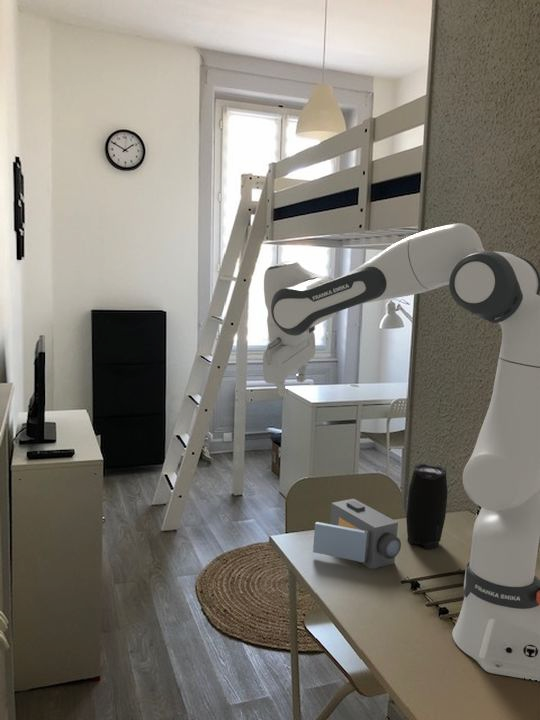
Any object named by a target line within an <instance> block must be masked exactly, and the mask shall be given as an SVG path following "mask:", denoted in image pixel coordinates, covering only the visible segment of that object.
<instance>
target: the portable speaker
mask: <svg viewBox="0 0 540 720" xmlns="http://www.w3.org/2000/svg"><path fill="white" fill-rule="evenodd" d="M448 492H449V491H448V480H447V469H446V467H443V466H440V465H437V466H436V465H431V464H430V465H429V464H425V463H417V464H415V465H414V470H413V471H412V476H411V479H410V483H409V486H408V494H407V495H408V496H407V506H406V516H405V518H406V532H407V533H406V534H407V542H408V543H409V544H410V545H415V544H417V545H420V546H423V547H424V548H425V549H427V550H432V549H437V548H438V547H439V544H440V542H441V539H442V533H443V529H444V525H445V520H446V512H447V505H448V504H447V502H448Z"/></svg>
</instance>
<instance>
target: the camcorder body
mask: <svg viewBox="0 0 540 720" xmlns="http://www.w3.org/2000/svg"><path fill="white" fill-rule="evenodd" d="M330 505H331V506H330V519H329V524H331V525H337V526H342V527H347V528H353V529H358V530H364V531H370V538H369V549H368V561H367V563H363V562H360V564H362V563H363V565H364V566H365V565H366V567H367V568H368V569H370V568H371V569H370V570H374V568H375V569H379V568H381V566H382V567H385V566H390V565H392V564H395V561H396V560H395V559H396V557H397V555H398V554H400V550H401V548H402V543H401V542H402V541H401V540H400V538H399V537H398V530H399V529H398V527H399V522H398V521H397V520H394V519H393V518H391V517H389V516H387V515H386V514H383V513H382V512H379V511H378V510H376V509H374V508H372V507H370V506H369V505H367V504H365V503H363V502H361V501H360V500H358V499H355V498H349V499H345V500H340V501H335V502H334V501H333V502H331V504H330ZM378 567H379V568H378Z"/></svg>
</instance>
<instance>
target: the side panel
mask: <svg viewBox="0 0 540 720" xmlns="http://www.w3.org/2000/svg"><path fill="white" fill-rule="evenodd" d="M313 534H314V536H313V548H312V553H315V554H319V555H325V556H328V557H329V556H330V557H336V558H340V559H346V560H350V561H353V562H354V561H355V562H359V563H361V562H363V563H367V561H368V549H369V538H370V531H364V530H358V529H353V528H347V527H342V526H337V525H331V524H330V523H325V522H319V521H316V522H315V523H314V533H313Z"/></svg>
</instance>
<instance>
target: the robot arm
mask: <svg viewBox="0 0 540 720" xmlns="http://www.w3.org/2000/svg"><path fill="white" fill-rule="evenodd" d="M445 286H449V291H450V294H451V297H452V299H453V300H454V302H456V304H457V305H458V306H459V307H460V308H462V309H463V310H465V311H467V312H468V313H471V314H473V315H474V316H476V317H479V318H481V319H483V320H485V321H487V322H489V323H490V324H499V326H500V329H501V342H500V343H501V344H500V351H499V355H498V359H497V366H496V372H495V378H494V383H493V388H492V394H491V399H490V402H489V406H488V408H487V412H486V415H485V417H484V420H483V423H482V425H481V428H480V431H479V434H478V436H477V439H476V443H475V446H474V448H473V451H472V454H471V456H470V457H469V460H468V461H467V463H466V464H465V466H464V469H463V470H462V471H463V472H462V485H463V488H464V491H465V493H466V495H467V496H468V497H469V499H470V500H471V501H472V502H473V503H474V504H475V505H476V506H478V507H480V509H479V513H478V515H477V517H476V518H475V521H474V524H473V528H472V537H471V538H472V539H471V547H470V548H471V549H470V555H469V558H470V559H469V561H468V562H467V565H466V568H465V573H464V580H463V595H464V596H463V601H462V605H461V608H460V613H459V615H458V618H457V621H456V623H455V624H454V625H455V626H454V627H453V629H452V633H451V634H452V638H453V642H454V643H455V644H456V645H457V647H458V648H459V649H460V650H461V651H463V653H465V654H466V655H468V656H469V657H471V659H473V660H475V661H476V662H477V663H478V664H479V666H480V667H481V668H482V669H483V670H484V671H486V672H488V673H489V674H495V675H500V676H507V677H512V678H519V679H524V678H525V680H529V679H531V680H530V681H535V680H537V682H540V578H539V577H537V576H536V575H535V573H536V568H537V567H536V565H537V559H538V552H539V545H540V272H539V269H538V268H537V267H536V266H535V265H534V264H533V263H532V262H531V261H530V260H529V259H526V258H525V257H522V256H519V255H514V254H513V253H509V252H505V251H504V252H503V251H490V250H485V249H484V246H483V243H482V240H481V238H480V236H479V234H478V233H477V231H475V229H474V228H473V227H471V226H470V225H468V224H465V223H461V222H459V223H458V222H457V223H450V224H446V225H442V226H436V227H433V228H430V229H429V228H428V229H426V230H422V231H420V232H417V233H415V234H411V235H410V236H408V237H405V238H403V239H401V240H399V241H397V242H395V243H393V244H391V245H390V246H388V247H387V248H385V249H384V250H382V251H381V252H379V253H378V254H376V255H374V256H373V257H372V258H370V259H368V260H367V261H365V262H364V263H362V264H361V265H360V266H358V267H357V268H355V269H352V270H351V271H350V272H348V273H346V274H343V275H342V276H338V277H336V278H331V277H328V276H322V275H319V274H316V273H314V272H311V271H310V270H307V269H306V268H304V267H303V266H302V265H301V264H300V263H299V262H297V261H294V260H293V261H292V260H290V261H284V262H281V263H277V264H273V265H270V266H269V267H268V268H267V269H265V272H264V276H263V291H264V292H263V295H264V303H265V307H266V309H267V319H266V323H267V332H268V342H269V343H267V346H266V349H265V351H264V352H263V356H262V374H263V380H264V382H265V383H266V384H273V385H274V386H275V387H276V389H277V392H278V396H280V397H286V396H287V395H289V389H288V387H286V384H285V383H286V379H287V378H288V377H290V376H291V375H292V374H294V373H295V372H296V371H297V374H296V381H297V382H298V383H304V382H305V381H306V380H307V377H306V376H307V375H306V374H307V369H308V362H310V361H311V360H312V359H313V358H315V353H316V337H315V331H316V326H317V325H319V324H321V323H323V322H325V321H327V320H329V319H331V318H332V317H334V316H335V315H337V314H338V313H340V311H344V310H347V309H350V308H353V307H355V306H358V305H359V306H360V305H363V304H367V303H368V304H369V303H373V302H378V301H384V300H391V299H396V298H403V297H404V298H405V297H408V296H409V297H410V296H413V295H418V294H422V293H427V292H429V291H433V290H435V289H439V288H442V287H445Z"/></svg>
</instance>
